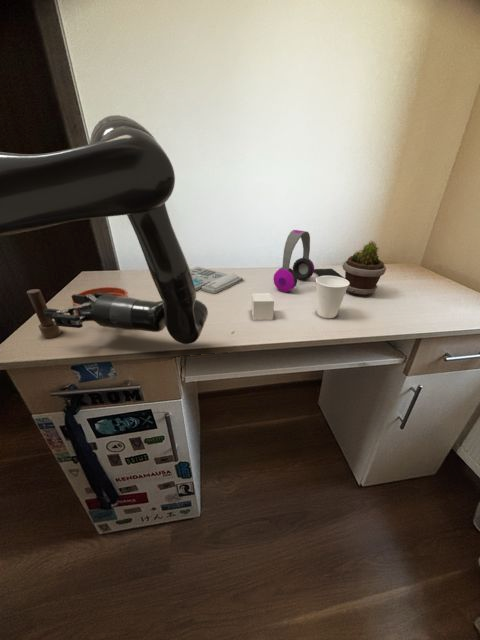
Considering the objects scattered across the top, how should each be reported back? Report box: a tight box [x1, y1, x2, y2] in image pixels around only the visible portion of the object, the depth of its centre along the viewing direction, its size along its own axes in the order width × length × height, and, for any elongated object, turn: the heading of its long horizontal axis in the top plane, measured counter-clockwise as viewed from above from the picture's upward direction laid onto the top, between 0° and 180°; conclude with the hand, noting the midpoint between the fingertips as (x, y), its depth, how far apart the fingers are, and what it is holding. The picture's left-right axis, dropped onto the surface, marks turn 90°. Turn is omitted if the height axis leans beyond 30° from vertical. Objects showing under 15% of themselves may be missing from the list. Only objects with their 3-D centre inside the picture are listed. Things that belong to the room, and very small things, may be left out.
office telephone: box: [189, 266, 243, 294], centre depth 109 cm, size 23×3×20 cm
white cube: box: [251, 292, 275, 321], centre depth 86 cm, size 6×6×6 cm
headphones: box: [272, 229, 315, 293], centre depth 105 cm, size 21×9×20 cm, turn 148°
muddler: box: [26, 288, 62, 339], centre depth 70 cm, size 4×4×12 cm
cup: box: [315, 276, 350, 319], centre depth 86 cm, size 10×10×11 cm
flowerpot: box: [341, 239, 387, 298], centre depth 101 cm, size 14×15×20 cm
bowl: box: [70, 286, 130, 315], centre depth 86 cm, size 15×15×4 cm
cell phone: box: [313, 268, 345, 279], centre depth 119 cm, size 9×18×1 cm, turn 12°
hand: (60, 305), depth 68 cm, fingers open, 8 cm apart
